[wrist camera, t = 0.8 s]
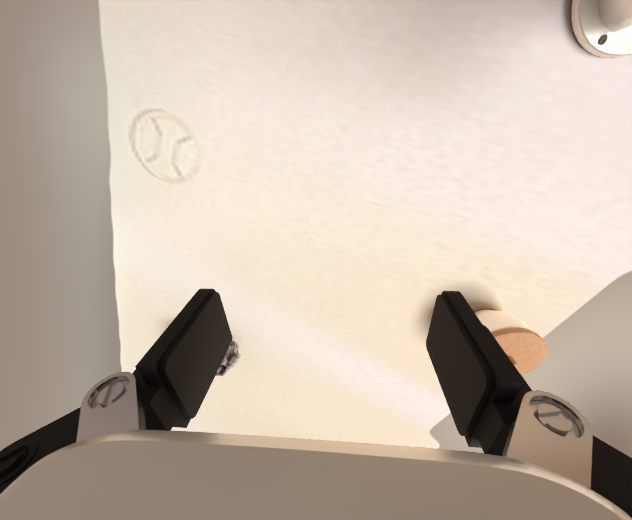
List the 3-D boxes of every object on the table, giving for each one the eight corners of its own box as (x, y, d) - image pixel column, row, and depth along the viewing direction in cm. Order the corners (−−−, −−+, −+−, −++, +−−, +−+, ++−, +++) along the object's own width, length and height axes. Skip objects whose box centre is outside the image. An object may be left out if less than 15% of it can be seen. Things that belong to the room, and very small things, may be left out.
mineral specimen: (248, 350, 48) (201, 392, 42) (245, 364, 55) (204, 401, 49) (209, 307, 51) (159, 340, 45) (210, 325, 58) (168, 356, 52)
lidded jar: (529, 310, 43) (574, 354, 35) (488, 349, 48) (519, 395, 40) (475, 291, 42) (509, 332, 34) (439, 333, 47) (461, 377, 39)
